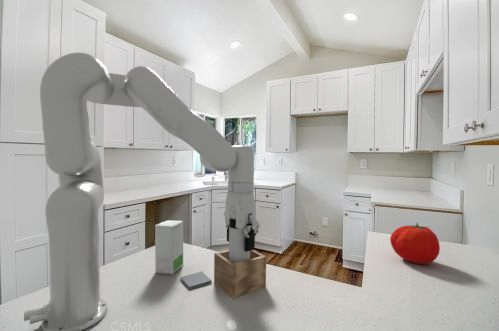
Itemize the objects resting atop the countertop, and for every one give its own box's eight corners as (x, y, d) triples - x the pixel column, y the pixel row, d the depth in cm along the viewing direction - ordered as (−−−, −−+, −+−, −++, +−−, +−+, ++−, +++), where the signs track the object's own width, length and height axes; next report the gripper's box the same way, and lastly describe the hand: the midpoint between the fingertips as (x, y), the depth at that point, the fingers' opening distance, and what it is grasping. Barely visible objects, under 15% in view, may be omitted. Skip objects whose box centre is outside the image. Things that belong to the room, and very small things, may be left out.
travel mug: (249, 288, 71) (250, 218, 71) (226, 286, 72) (226, 216, 72) (252, 277, 78) (253, 213, 77) (231, 276, 79) (231, 212, 78)
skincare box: (172, 275, 81) (172, 226, 80) (153, 273, 82) (153, 225, 81) (184, 264, 89) (184, 220, 88) (166, 262, 90) (167, 219, 90)
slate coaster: (189, 289, 72) (189, 286, 72) (180, 279, 78) (180, 277, 78) (211, 282, 76) (211, 280, 76) (201, 273, 82) (201, 271, 82)
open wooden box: (232, 298, 68) (232, 265, 67) (214, 282, 76) (214, 253, 76) (265, 286, 74) (266, 256, 74) (245, 272, 83) (246, 245, 83)
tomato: (434, 259, 97) (436, 223, 96) (443, 273, 84) (445, 233, 84) (388, 251, 104) (389, 218, 103) (390, 264, 91) (391, 226, 91)
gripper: (215, 185, 79) (215, 239, 80) (246, 192, 65) (245, 258, 66) (236, 184, 84) (235, 235, 84) (269, 190, 69) (268, 252, 70)
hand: (240, 245), depth 75 cm, fingers open, 9 cm apart
